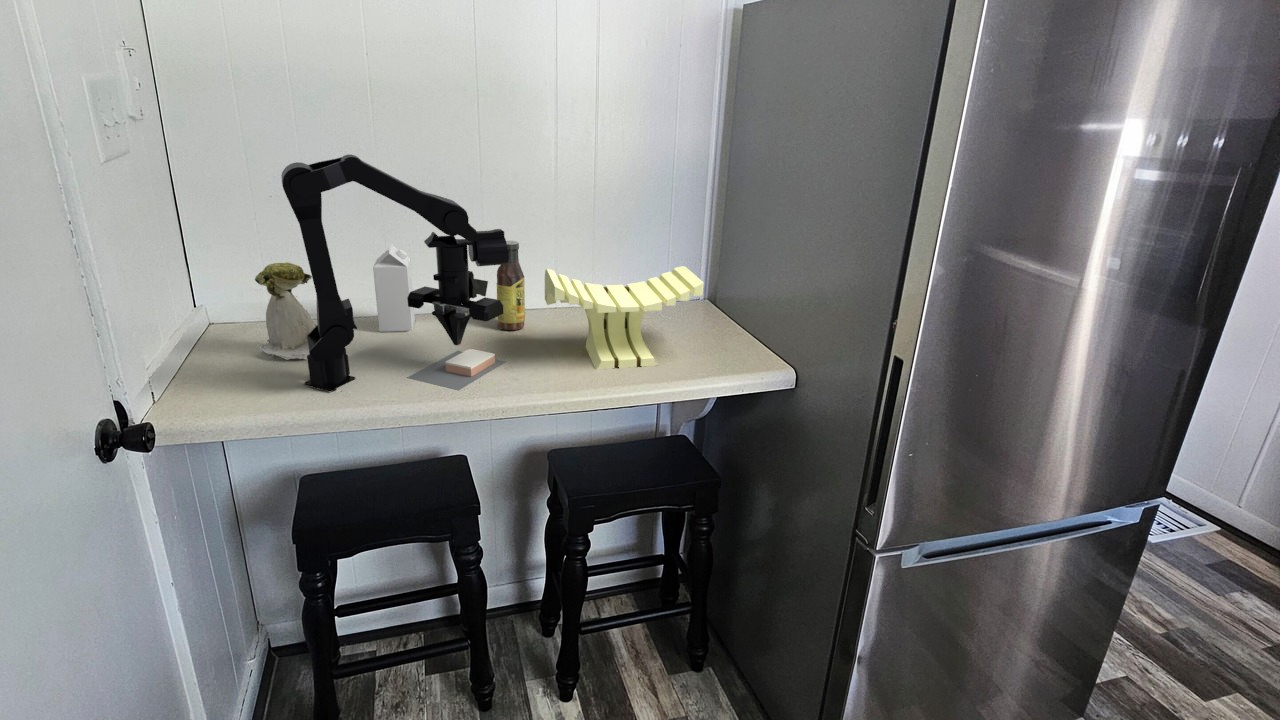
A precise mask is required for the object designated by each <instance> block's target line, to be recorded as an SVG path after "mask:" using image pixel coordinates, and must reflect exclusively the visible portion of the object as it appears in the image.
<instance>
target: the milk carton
mask: <svg viewBox="0 0 1280 720" xmlns="http://www.w3.org/2000/svg"><path fill="white" fill-rule="evenodd" d="M393 242H394V241H393V240H392V241H390V243H389V245H388V248H387V250H386V251H384V252H383V253H382V254H381V255H380V256H379V257H378V258H377V259H376V260H375V262H374V265H373V266H372V271H373V280H374V290H375V300H376V310H377V319H378V330H379V332H380V333H386V332H387V333H388V332H389V333H391V332H394V333H395V332H409V331H413V330H414V326H415V322H416V319H415V317H416V315H415V308H413V307H408V300H407V297H408V295H409V293H410V292H411V291H414V288H413V277H412V267H411V266H412V264H411V258H410V257H409V256H408V253H407V252H406V251H404V250H403V249H400V248H397V247H395V246H394V243H393Z"/></svg>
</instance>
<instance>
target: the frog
mask: <svg viewBox="0 0 1280 720" xmlns="http://www.w3.org/2000/svg"><path fill="white" fill-rule="evenodd" d="M311 279H313V278H312V274H311V275H310V274H309V273H305V272H304V269H303V268H302V267H301V266H300V265H297V264H295V263H294V264H293V263H291V262H275V263H269V264H268V265H266V266H265V267H264V268H263V270H262V271H259V273H258V274H257V275H255V277H254V281H255V283H257V284H258V285H260V286H263V287H266V291H267V292H268V294H269V295H271V296H270V297H269V298H270V299H269V300H268V303H267V307H266V312H265V325H266V330H267V337H268V339H267V342H268V343H267V342H266V343H264V344H261V345H260V349H261V350H262V351H263V352H264V353H265V354H267V355H268V356H272V357H274V356H276V357H279V358H282V359H285V360H290V359H292V360H295V359H299V360H302V359H303V360H307V355H309V354H310V353H309V348H308V342H307V335H308V334H309V333H310V332H311V331H312V330H313V329H314V328H315V327H316V326H315V324H314V323H315V321H314V318H313V317H312V314H310V313H309V311H308V310H307V309H305V307H304V306H303V305H302V303H301V302H300V301H299V300H298V299H297V297H296V296H295V295H294V294H293V293H292V290H293V289H295V288H296V287H297V288H298V286H299V285H305V284H308V282H309V280H311Z"/></svg>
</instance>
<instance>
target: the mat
mask: <svg viewBox="0 0 1280 720" xmlns="http://www.w3.org/2000/svg"><path fill="white" fill-rule="evenodd" d="M463 352H464V351H462V350H456V351H455V352H452V353H451V354H449V355H447V356H445V357H443V358H441V359H439V360H438V361H436V362H433V363H432V364H430V365H428V366H426V367H424V368H422V369H419V370H418V371H416V372H415V373H412V374H410V375H409V376H407V377H406V378H407V379H411V380H414V381H419V382H423V383H427V384H430V385H435V386H439V387H443V388H447V389H451V390H457V391H460V390H462V389H464V388H465V387H467V386H468V385H470V384H472V383H474V382H476V381H477V380H479V379H481V378H482V377H483V376H485V375H487V374H489V373H491V372H492V371H493V370H495V369H497V368H499V367H500V366H502V365H504V364H505V363H507V361H506V360H502V359H498V358H495V363H494V364H492V365H491V366H489V367H487V368H486V369H484V370H482V371H480V372H479V373H477V374H475V375H474V376H472V377H470V376H465V375H461V374H456V373H452V372H447V371H446V366H445V362H446V361H448V360H449V359H451V358H453V357H455V356H457V355H459V354H461V353H463Z"/></svg>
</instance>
